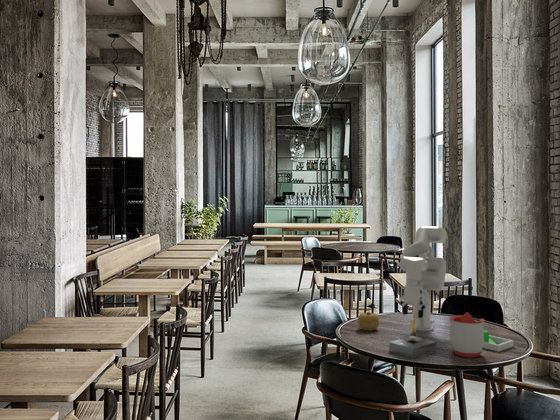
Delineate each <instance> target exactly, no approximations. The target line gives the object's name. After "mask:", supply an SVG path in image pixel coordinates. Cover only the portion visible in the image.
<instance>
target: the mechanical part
mask: <svg viewBox="0 0 560 420" xmlns="http://www.w3.org/2000/svg"><path fill="white" fill-rule="evenodd" d="M489 335H490V333H489V331H488V330H485V329H484V342H489V343H493V344H497V343H495V342H493V341H492V340H491V339H489Z"/></svg>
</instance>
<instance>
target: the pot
mask: <svg viewBox="0 0 560 420" xmlns="http://www.w3.org/2000/svg"><path fill="white" fill-rule="evenodd" d="M357 319H358V321H357V324H358V326H359V328H360V329H361V330H362V331H363V330H364V331H367V332H368V331H375V330H376V329H378V327H379V326H380V322H379V320H380V316H379V315H378V314H377V313H375V312H370V311H367V312H362V313H360V314H358V316H357Z"/></svg>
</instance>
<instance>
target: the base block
mask: <svg viewBox="0 0 560 420" xmlns="http://www.w3.org/2000/svg"><path fill="white" fill-rule="evenodd" d="M419 337H420V336H417V337H415V336H410V337H406V338H403V339H400V338H399V339H396V340H392V341H389V342H388V352H391V353H394V354H398V355H401V356H403V355H404V357H407V356H408V357H407V358H410V357H411V358H410V359H415V358H417V357H422V356H424V355H429V354H432V353H434V352H437V341H434V340H430V339H427V338H425V339H423V338H424V337H421V338H419ZM414 357H415V358H414Z"/></svg>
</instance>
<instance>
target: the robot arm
mask: <svg viewBox="0 0 560 420" xmlns="http://www.w3.org/2000/svg"><path fill="white" fill-rule="evenodd" d="M447 236H448V235H447V231H446V229H445V228H443V227H441V226H430V225H429V226H426V225H425V226H424V225H423V226H420V227H418V228H417V230H416V232H415V236H414V242H413V243H412V244H410V245H409V246H408V247H406V248H405V249H404V250H403V251H402V255H401V257H400V263H399V265H400V270H402V271H404V272H405V286H404V289H403V295H402V296H400V297H399V298H398V300H399V303H400V305H401V307H402V316H403V315H405V316H406V315H408V314H409V313H408V312H409V306H408V305H410V306H412V319H416V331H420V332H421V331H422V332H424V331H425V332H426V331H427V332H429V331H433V330H434V326H433V325H432V324H435V322H436V321H435V319H431V310H432V309H431V304H432V302H431V301H432V299H431V295H430V293H429V292H428V291H435V292H436V291H443V289H444V287H445V281H446V271H447V261H446V259H445V258H443V257H435V251H434V249H433V248H432V246H431V244H437V243H438V244H444V243H446V241H447V239H448V238H447ZM417 256H418V257H417Z"/></svg>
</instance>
